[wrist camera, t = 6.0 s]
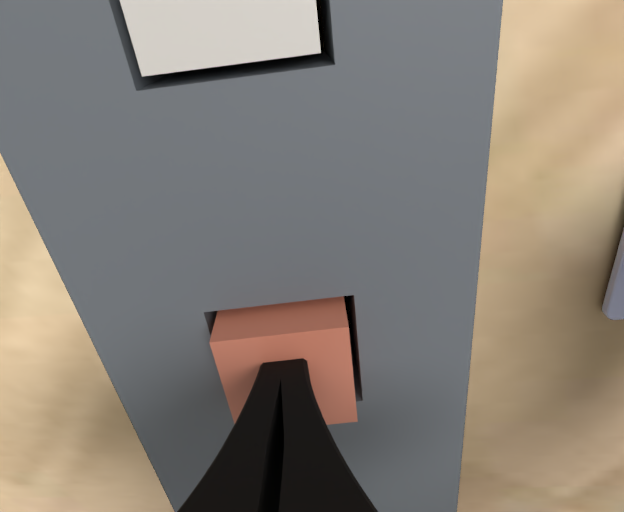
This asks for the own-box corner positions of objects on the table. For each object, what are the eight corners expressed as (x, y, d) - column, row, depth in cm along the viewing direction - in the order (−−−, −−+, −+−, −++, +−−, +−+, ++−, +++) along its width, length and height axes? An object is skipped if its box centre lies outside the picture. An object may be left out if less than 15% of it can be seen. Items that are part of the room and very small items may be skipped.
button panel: (457, -334, 9) (550, -534, 6) (429, 501, 25) (450, 579, 22) (-68, -252, 10) (-266, -396, 6) (229, 521, 26) (218, 601, 22)
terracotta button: (337, 256, 16) (348, 326, 12) (345, 340, 18) (357, 421, 14) (228, 269, 16) (209, 342, 12) (248, 351, 18) (237, 434, 14)
